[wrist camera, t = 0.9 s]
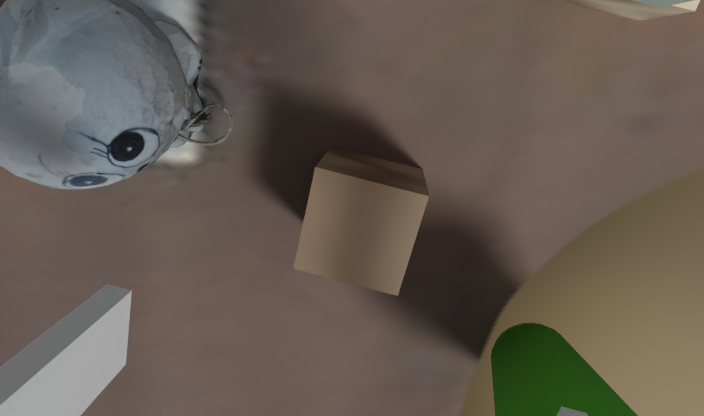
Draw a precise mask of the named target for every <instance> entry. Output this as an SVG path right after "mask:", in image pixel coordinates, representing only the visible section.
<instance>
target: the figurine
mask: <svg viewBox="0 0 704 416" xmlns="http://www.w3.org/2000/svg"><path fill="white" fill-rule="evenodd" d="M201 63H202V58H201V54H200V51H199V49H198V46H197V45H196V44H195V43H194V42H193V41H192V40H191V39H189V38H188V36H187V35H186V34H185V33H184V31H183V30H182V29H181V28H179V27H177V26H175V25H172V24H168V23H165V22H162V21H160V20H159V21H152V20H151V19H150V18H149V17H148V16H147V15H146V13H145V12H144V11H143V10H142V9H141V8H139V7H137V6H136V5H134V4H133V3H131V2H130V1H128V0H6V1H5V2H4V4H3V5H2V6H1V8H0V166H1V167H3V168H5V169H6V170H8V171H10V172H11V173H13V174H14V175H16V176H18V177H21V178H23V179H26V180H29V181H32V182H35V183H39V184H42V185H44V186H47V187H51V188H58V189H88V188H95V187H101V186H106V185H110V184H112V183H115V182H118V181H120V180H126V179H128V178H130V177H132V175H133V174H135V173H137V172H139V171H141V170H142V169H144V168H146V167H147V166H149V165H151V164H152V163H153V162H155V161H156V160H157V159H158V158H159V157H160V156H161V155H162V154H163V153H165V152H166V151H167V150H168V149H169V147H179V146H182V145H183V144H184V143H185V142H186V141H189V142H195V143H198V144H201V145H205V146H210V145H215V144H218V143H221V142H223V141H224V140H225V139H226V138H227V137H228V135H229V134H230V132H231V131H232V128H233V126H234V119H233V116H232V115H230V114H229V111H228V109H226V108H224V107H223V106H221V105H219V104H218V103H213V104H210V105H207V106H206V107H204V105H203V103H202V101H201V98H200V96H199V94H198V91H197V86H198V74H199V71H200V69H201ZM212 107H219V108H221V109H222V110H223V111H224V112H225V113H226V114H227V115H228V118H229V121H230V124H229V129H228V131H227V132H226V134H225V135H224V136H223V137H222V138H220V139H217V140H215V141H214V142H201V141H196V140H192V139H190V137H191V135H192V134H193V132H197V133H199V132H200V131H201V130H202V129H203V126H204V124H205V123H209V122H210V121H211V120H212V119H213V118H212V113H209V114H207V115H206V114H205V111H206V110H207V109H209V108H212Z"/></svg>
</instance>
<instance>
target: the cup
mask: <svg viewBox="0 0 704 416" xmlns="http://www.w3.org/2000/svg"><path fill="white" fill-rule="evenodd" d="M491 362H492V375H493V389H494V404H495V416H557V414H558V412H559V410H560V408H561V406H562V407H566V408H569V409H573V410H577V411H581V412H584V413H587V414H588V416H637V415H636V414H635V413H634V411H633V410H632V409H631V408H630V407H629V406H628V405H627V404H626V403H625V402H624V401H623V400H622V399H621V398H620V397H619V396H618V395H617V394H616V393H615V391H613V389H612V388H611V387H610V386H609V385H608V384H607V383H606V382H605V381H604V380H603V379H602V378H601V377H600V376H599V375H598V374H597V373H596V372H595V371H594V370H593V368H592V367H591V366H590V365H589V364H588V363H587V362H586V361H585V360H584V359H583V358H582V357H581V356H580V355H579V354H578V353H577V352H576V351H575V350H574V348H573V347H572V346H571V345H570V344H569V343H568V342H567V341H566V340H565V339H564V338H563V337H562V336H561V335H560V334H559V333H558V332H556V331H555V330H553V329H551V328H549V327H546V326H544V325H541V324H536V323H523V324H519V325H515V326H513V327H511V328H509V329H507V330H506V331H504V332H503V333H502V334H501V335H500V336H499V337H498V339H497V340H496V343H495V345H494V347H493V349H492V355H491Z"/></svg>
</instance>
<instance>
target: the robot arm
mask: <svg viewBox="0 0 704 416" xmlns="http://www.w3.org/2000/svg"><path fill="white" fill-rule="evenodd" d="M131 293H132V291H131V290H127V289H123V288H120V287H116V286H112V285H108V284H106V285H105V286H104V287H103V288H101V289H100V290H99V291H97V292H96V293H95V294H93V295H92V296H91V297H90V298H88V299H87V300H86V301H84V302H83V303H82V304H81V305H79V306H78V307H77V308H75V309H74V310H73V311H72V312H70V313H69V314H68V315H66V316H65V317H64V318H62V319H61V320H60V321H59V322H57V323H56V324H55V325H53V326H52V327H51V328H50V329H48V330H47V331H46V332H44V333H43V334H42V335H40V336H39V337H38V338H37V339H35V340H34V341H33V342H31V343H30V344H29V345H28V346H26V347H25V348H24V349H22V350H21V351H20V352H19V353H17V354H16V355H15V356H13V357H12V358H11V359H9V360H8V361H7V362H6V363H4V364H3V365H2V366H0V416H80V415H81V414H82V413H83V412H84V411H85V410H86V408H87V407H88V406H89V405H90V404H91V403H92V402H93V401H94V399H95V398H96V397H97V396H98V395H99V394H100V393H101V392H102V390H103V389H104V388H105V387H106V386H107V385H108V384H109V383H110V381H111V380H112V379H113V378H114V377H115V376H116V375H117V374H118V372H119V371H120V370H121V369H122V368H123V367H124V366H125V365H126V355H127V342H128V330H129V318H130V305H131ZM557 416H588V414H587V413H584V412H581V411H577V410H573V409H569V408H566V407H562V406H561V408H560V410H559V412H558V414H557Z"/></svg>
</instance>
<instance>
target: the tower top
mask: <svg viewBox="0 0 704 416" xmlns="http://www.w3.org/2000/svg"><path fill="white" fill-rule="evenodd" d="M633 1H636V2H640V3H643V4H647V5H650V6H654V7H657V8H660V7H665V6H669V5H674V4H679V3H684V2H689V1H694V0H633Z"/></svg>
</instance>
